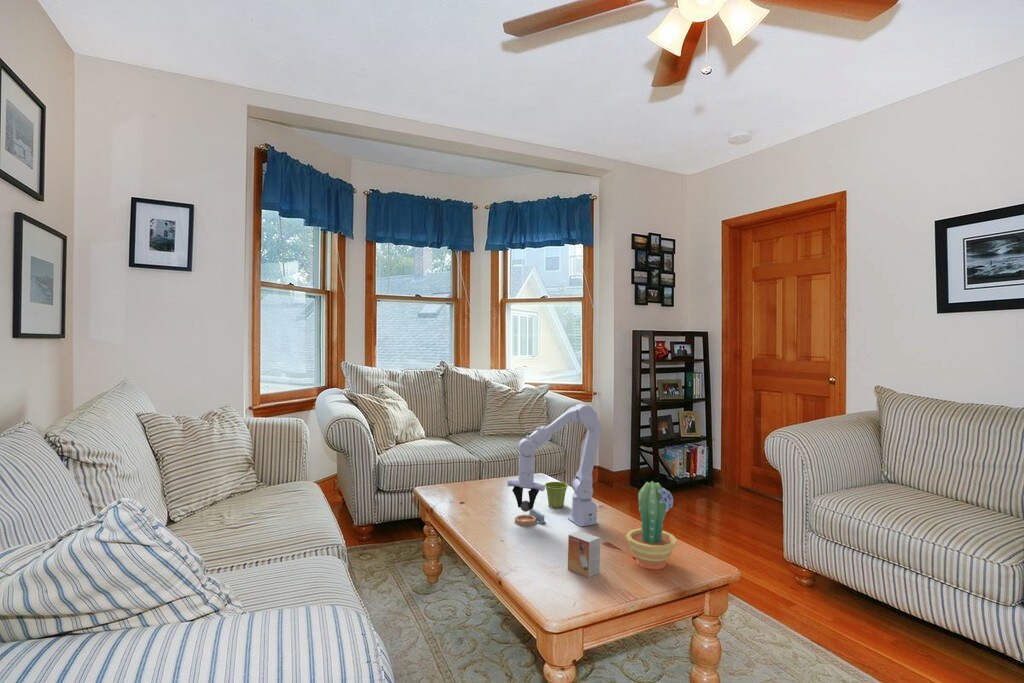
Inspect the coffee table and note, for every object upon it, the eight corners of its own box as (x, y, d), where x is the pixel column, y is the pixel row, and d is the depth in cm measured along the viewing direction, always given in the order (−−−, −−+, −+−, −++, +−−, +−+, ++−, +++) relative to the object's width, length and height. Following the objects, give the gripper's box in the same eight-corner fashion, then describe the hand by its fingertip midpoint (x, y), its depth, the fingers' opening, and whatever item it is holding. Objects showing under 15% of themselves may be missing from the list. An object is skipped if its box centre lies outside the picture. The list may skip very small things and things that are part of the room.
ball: (533, 511, 199) (533, 500, 199) (526, 514, 196) (526, 503, 196) (524, 508, 201) (525, 498, 201) (517, 511, 198) (518, 500, 198)
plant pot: (568, 509, 213) (568, 488, 213) (545, 509, 213) (545, 487, 213) (566, 502, 222) (566, 481, 222) (544, 502, 222) (544, 481, 222)
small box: (567, 569, 159) (567, 534, 159) (578, 563, 163) (579, 529, 163) (588, 578, 153) (589, 542, 153) (600, 572, 157) (600, 537, 157)
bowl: (539, 523, 197) (539, 520, 197) (521, 526, 193) (521, 523, 193) (529, 517, 204) (529, 513, 204) (512, 520, 200) (512, 516, 200)
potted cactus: (641, 576, 154) (642, 491, 154) (616, 555, 169) (617, 477, 169) (687, 570, 159) (688, 487, 158) (659, 550, 174) (660, 474, 173)
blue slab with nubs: (546, 523, 197) (546, 515, 197) (540, 524, 196) (540, 516, 196) (533, 515, 206) (533, 507, 206) (527, 515, 205) (527, 508, 205)
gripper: (548, 471, 199) (547, 507, 199) (512, 466, 205) (512, 501, 205) (541, 475, 192) (540, 513, 193) (505, 470, 199) (504, 507, 199)
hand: (525, 507), depth 198 cm, fingers closed on ball, 4 cm apart
